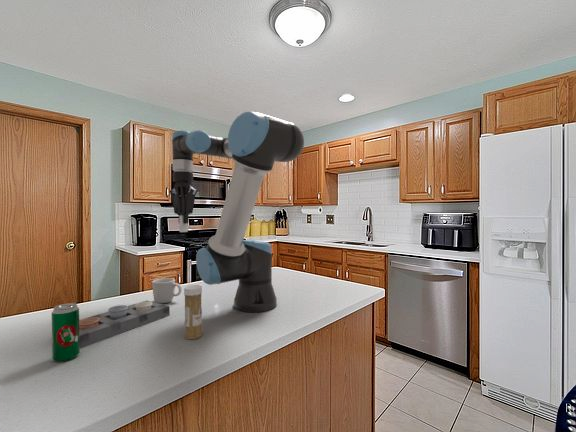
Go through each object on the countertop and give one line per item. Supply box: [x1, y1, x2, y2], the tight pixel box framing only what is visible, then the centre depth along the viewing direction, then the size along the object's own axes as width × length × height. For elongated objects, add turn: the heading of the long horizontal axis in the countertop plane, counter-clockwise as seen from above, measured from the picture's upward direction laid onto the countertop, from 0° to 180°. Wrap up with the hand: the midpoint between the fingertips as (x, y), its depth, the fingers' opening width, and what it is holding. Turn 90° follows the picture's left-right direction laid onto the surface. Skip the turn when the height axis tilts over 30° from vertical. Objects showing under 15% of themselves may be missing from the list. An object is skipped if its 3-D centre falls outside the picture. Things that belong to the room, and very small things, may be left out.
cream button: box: [134, 301, 153, 311], centre depth 93 cm, size 5×5×3 cm
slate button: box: [107, 304, 129, 320], centre depth 86 cm, size 5×5×3 cm
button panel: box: [79, 300, 170, 349], centre depth 86 cm, size 12×26×3 cm, turn 149°
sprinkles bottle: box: [183, 284, 203, 340], centre depth 78 cm, size 5×5×13 cm
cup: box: [151, 277, 183, 304], centre depth 109 cm, size 11×8×8 cm
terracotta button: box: [79, 316, 100, 330], centre depth 79 cm, size 5×5×3 cm
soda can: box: [51, 302, 81, 363], centre depth 67 cm, size 5×5×12 cm
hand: (183, 231), depth 115 cm, fingers closed
